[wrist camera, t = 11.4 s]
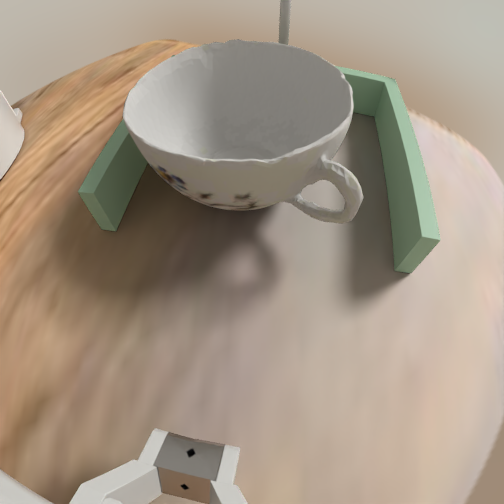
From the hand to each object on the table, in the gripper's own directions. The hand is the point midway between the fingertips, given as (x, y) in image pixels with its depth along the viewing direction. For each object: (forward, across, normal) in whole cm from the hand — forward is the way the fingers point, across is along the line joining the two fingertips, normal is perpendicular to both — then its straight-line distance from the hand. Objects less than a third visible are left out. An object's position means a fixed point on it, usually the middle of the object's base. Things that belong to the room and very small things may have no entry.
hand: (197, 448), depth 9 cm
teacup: (+15, +1, -7) cm, 17 cm away
